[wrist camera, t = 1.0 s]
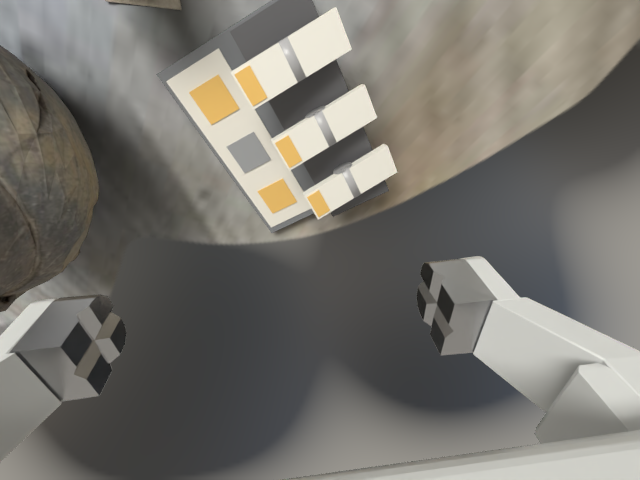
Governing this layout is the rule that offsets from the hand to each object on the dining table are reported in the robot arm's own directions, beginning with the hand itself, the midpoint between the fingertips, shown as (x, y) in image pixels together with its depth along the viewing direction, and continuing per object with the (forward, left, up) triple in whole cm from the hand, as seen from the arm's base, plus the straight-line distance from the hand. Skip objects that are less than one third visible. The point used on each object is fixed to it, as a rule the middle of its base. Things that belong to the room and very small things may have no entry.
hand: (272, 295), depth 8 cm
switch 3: (-2, +12, -29) cm, 32 cm away
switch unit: (+3, +5, -35) cm, 36 cm away
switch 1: (-2, -2, -29) cm, 29 cm away
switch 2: (-2, +5, -29) cm, 30 cm away
